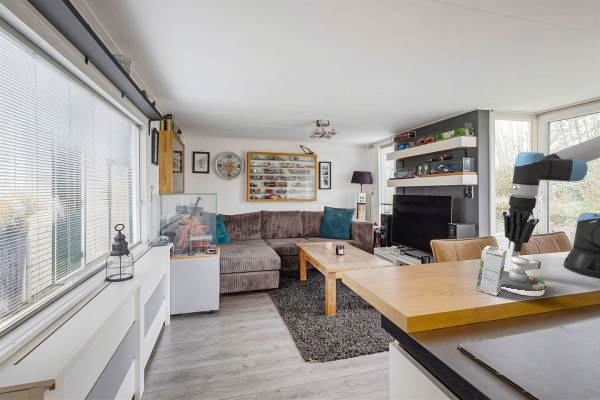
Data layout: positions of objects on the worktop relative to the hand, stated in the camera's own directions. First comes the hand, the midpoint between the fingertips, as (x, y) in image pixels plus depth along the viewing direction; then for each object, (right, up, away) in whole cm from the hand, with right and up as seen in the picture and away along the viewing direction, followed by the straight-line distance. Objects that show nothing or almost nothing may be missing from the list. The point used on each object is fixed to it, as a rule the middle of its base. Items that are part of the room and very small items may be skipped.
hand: (512, 258), depth 104 cm
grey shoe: (-4, -8, -7) cm, 12 cm away
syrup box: (-17, -8, -11) cm, 22 cm away
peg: (-1, -2, -7) cm, 8 cm away
